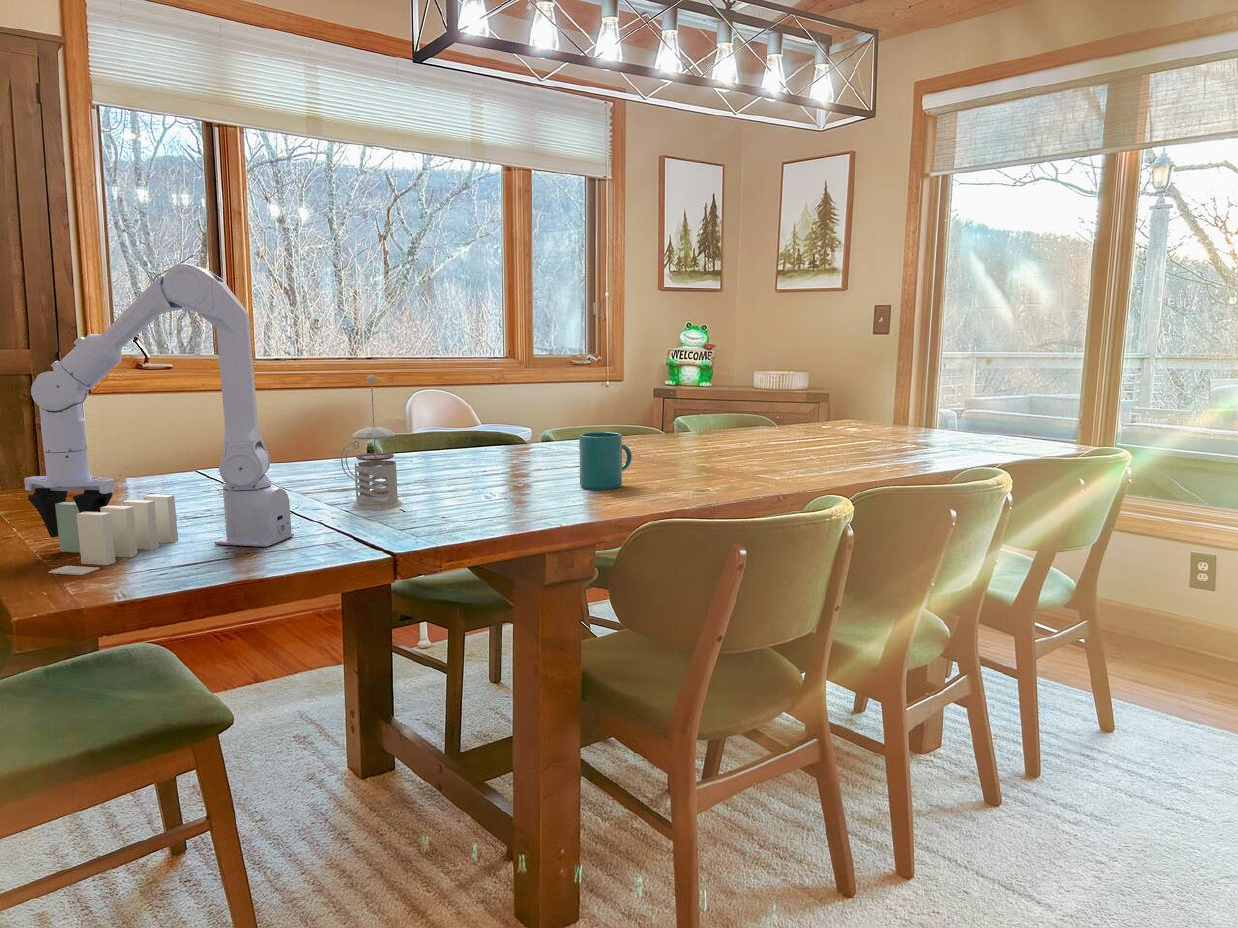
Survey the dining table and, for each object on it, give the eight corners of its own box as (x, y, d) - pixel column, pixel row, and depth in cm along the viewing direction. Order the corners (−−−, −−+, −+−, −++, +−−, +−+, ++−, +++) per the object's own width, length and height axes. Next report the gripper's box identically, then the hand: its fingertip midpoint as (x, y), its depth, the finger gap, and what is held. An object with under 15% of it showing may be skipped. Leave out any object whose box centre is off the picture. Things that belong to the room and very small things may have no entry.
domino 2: (90, 560, 132) (85, 511, 131) (115, 562, 132) (110, 512, 130) (81, 563, 131) (76, 513, 130) (107, 565, 130) (102, 515, 129)
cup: (641, 486, 190) (641, 434, 188) (592, 492, 184) (591, 438, 182) (620, 480, 198) (620, 430, 196) (572, 485, 192) (571, 433, 190)
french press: (389, 511, 166) (383, 377, 162) (332, 509, 168) (325, 376, 164) (412, 501, 176) (406, 374, 172) (357, 499, 178) (351, 373, 174)
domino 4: (134, 546, 141) (130, 499, 140) (158, 547, 140) (154, 500, 139) (126, 548, 140) (122, 501, 138) (151, 549, 139) (146, 502, 138)
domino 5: (154, 539, 145) (150, 494, 144) (178, 540, 145) (174, 495, 143) (147, 541, 144) (143, 496, 143) (171, 542, 143) (167, 497, 142)
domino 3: (112, 553, 137) (108, 505, 136) (137, 554, 136) (133, 506, 135) (105, 555, 135) (100, 507, 134) (129, 557, 134) (125, 508, 133)
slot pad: (99, 568, 128) (99, 567, 128) (81, 575, 125) (81, 573, 125) (66, 566, 129) (66, 565, 129) (48, 572, 126) (48, 571, 126)
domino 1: (68, 548, 140) (63, 501, 138) (92, 550, 139) (87, 503, 138) (60, 551, 138) (55, 503, 137) (84, 552, 137) (79, 505, 136)
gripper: (3, 452, 134) (13, 540, 136) (85, 455, 131) (94, 545, 133) (42, 446, 140) (51, 530, 143) (121, 448, 137) (129, 534, 140)
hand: (74, 537), depth 138 cm, fingers open, 6 cm apart
